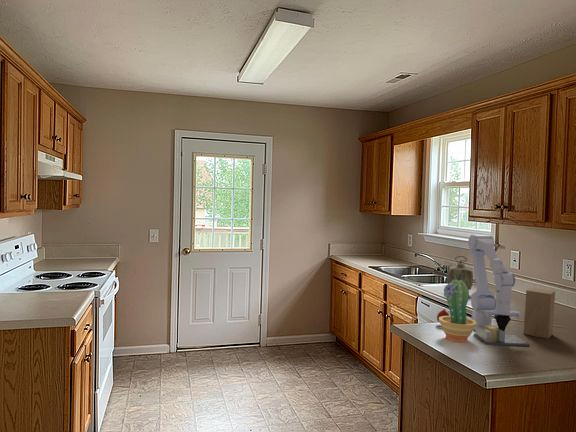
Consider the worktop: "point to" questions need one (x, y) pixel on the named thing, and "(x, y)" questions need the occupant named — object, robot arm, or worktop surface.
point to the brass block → (494, 332)
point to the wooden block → (539, 312)
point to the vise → (486, 335)
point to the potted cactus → (457, 313)
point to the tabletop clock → (460, 273)
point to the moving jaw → (501, 335)
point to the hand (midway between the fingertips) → (501, 332)
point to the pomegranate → (442, 314)
